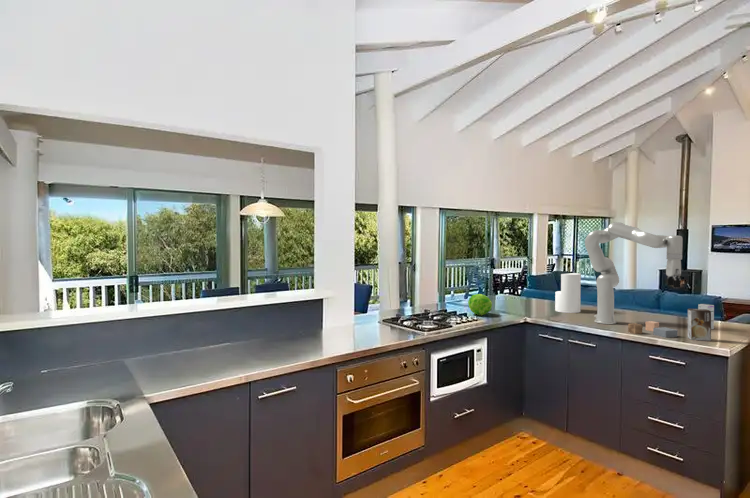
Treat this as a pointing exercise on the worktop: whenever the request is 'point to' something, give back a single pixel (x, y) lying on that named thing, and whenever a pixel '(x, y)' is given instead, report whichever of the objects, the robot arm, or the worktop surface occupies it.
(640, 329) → the walnut cube
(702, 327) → the coffee box
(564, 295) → the cylinder
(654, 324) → the terracotta cube
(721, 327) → the worktop surface
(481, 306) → the lettuce
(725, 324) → the worktop surface
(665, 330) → the base block
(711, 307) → the syrup box
